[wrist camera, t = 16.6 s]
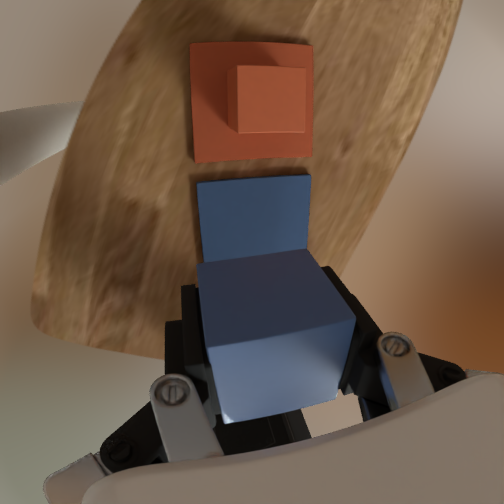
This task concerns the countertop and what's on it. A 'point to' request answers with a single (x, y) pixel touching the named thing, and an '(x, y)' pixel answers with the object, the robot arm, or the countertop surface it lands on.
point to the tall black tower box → (261, 432)
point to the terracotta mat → (216, 101)
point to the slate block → (273, 333)
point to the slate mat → (253, 215)
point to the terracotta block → (266, 99)
